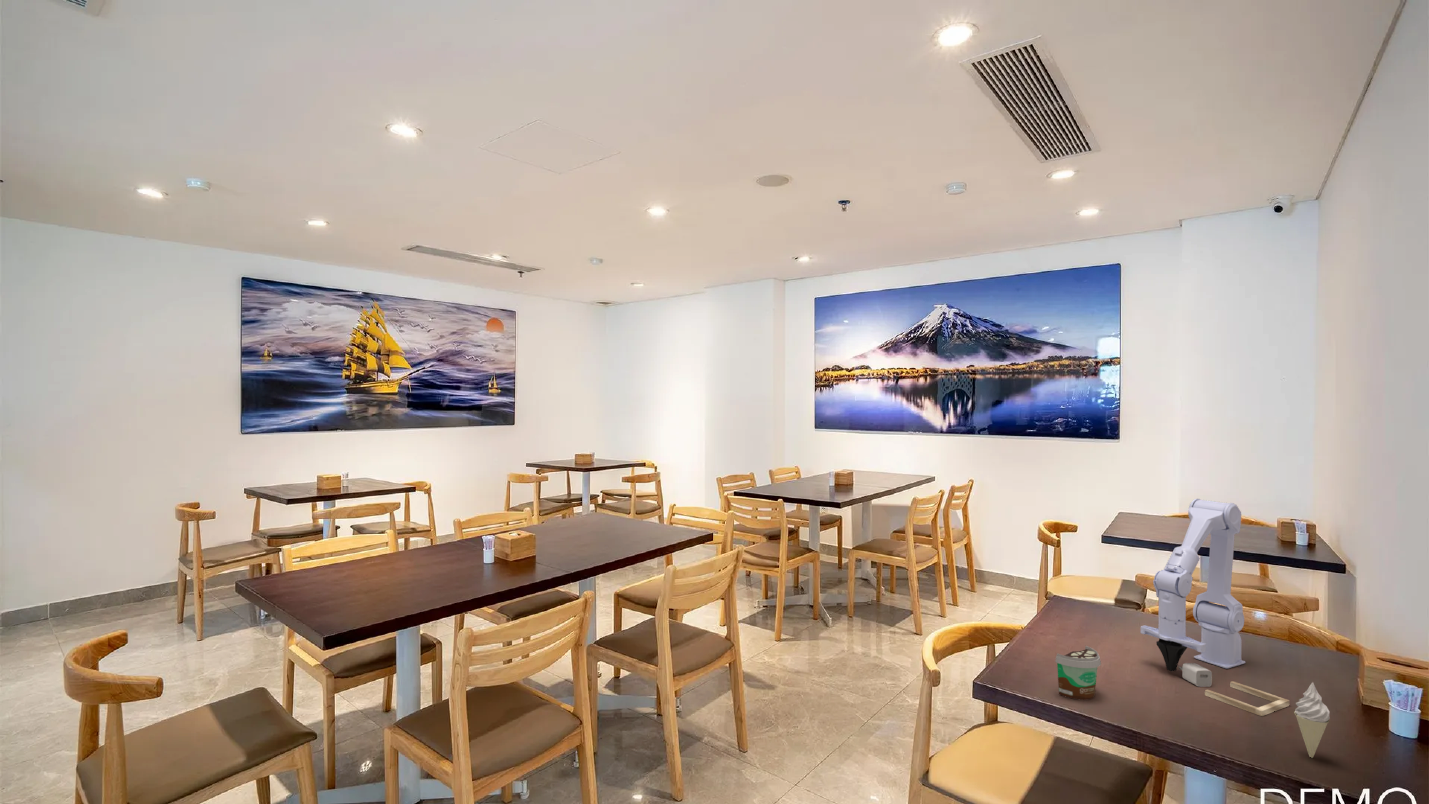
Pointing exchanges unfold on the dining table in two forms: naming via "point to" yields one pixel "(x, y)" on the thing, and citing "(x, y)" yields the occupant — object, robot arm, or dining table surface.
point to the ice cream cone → (1312, 718)
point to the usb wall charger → (1196, 674)
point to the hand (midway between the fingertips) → (1171, 670)
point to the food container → (1078, 673)
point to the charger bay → (1261, 711)
